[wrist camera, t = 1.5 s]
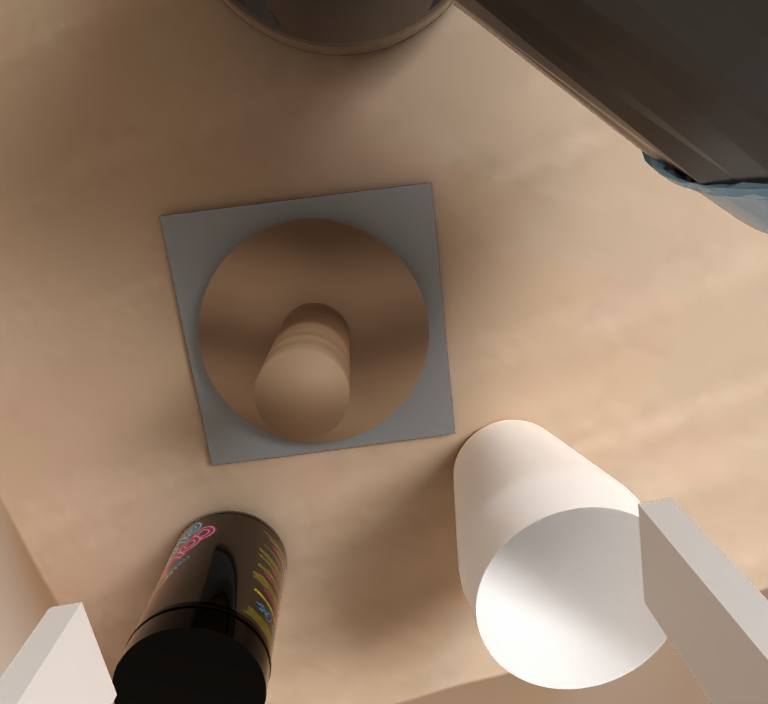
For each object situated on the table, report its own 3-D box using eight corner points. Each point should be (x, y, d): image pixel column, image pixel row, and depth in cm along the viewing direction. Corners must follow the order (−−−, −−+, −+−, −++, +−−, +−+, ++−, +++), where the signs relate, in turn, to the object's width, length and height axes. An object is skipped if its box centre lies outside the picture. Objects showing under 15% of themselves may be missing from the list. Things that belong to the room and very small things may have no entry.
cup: (405, 500, 37) (430, 645, 25) (482, 372, 35) (547, 466, 24) (531, 559, 39) (609, 721, 27) (611, 440, 37) (732, 558, 25)
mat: (161, 215, 32) (159, 216, 32) (430, 182, 32) (431, 182, 32) (213, 462, 36) (212, 465, 35) (454, 430, 36) (455, 433, 36)
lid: (182, 233, 32) (105, 257, 22) (414, 204, 32) (444, 215, 22) (226, 447, 35) (176, 554, 25) (436, 419, 35) (471, 514, 25)
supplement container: (237, 483, 36) (195, 599, 26) (312, 561, 38) (298, 698, 28) (151, 548, 37) (77, 685, 27) (227, 621, 39) (184, 776, 29)
